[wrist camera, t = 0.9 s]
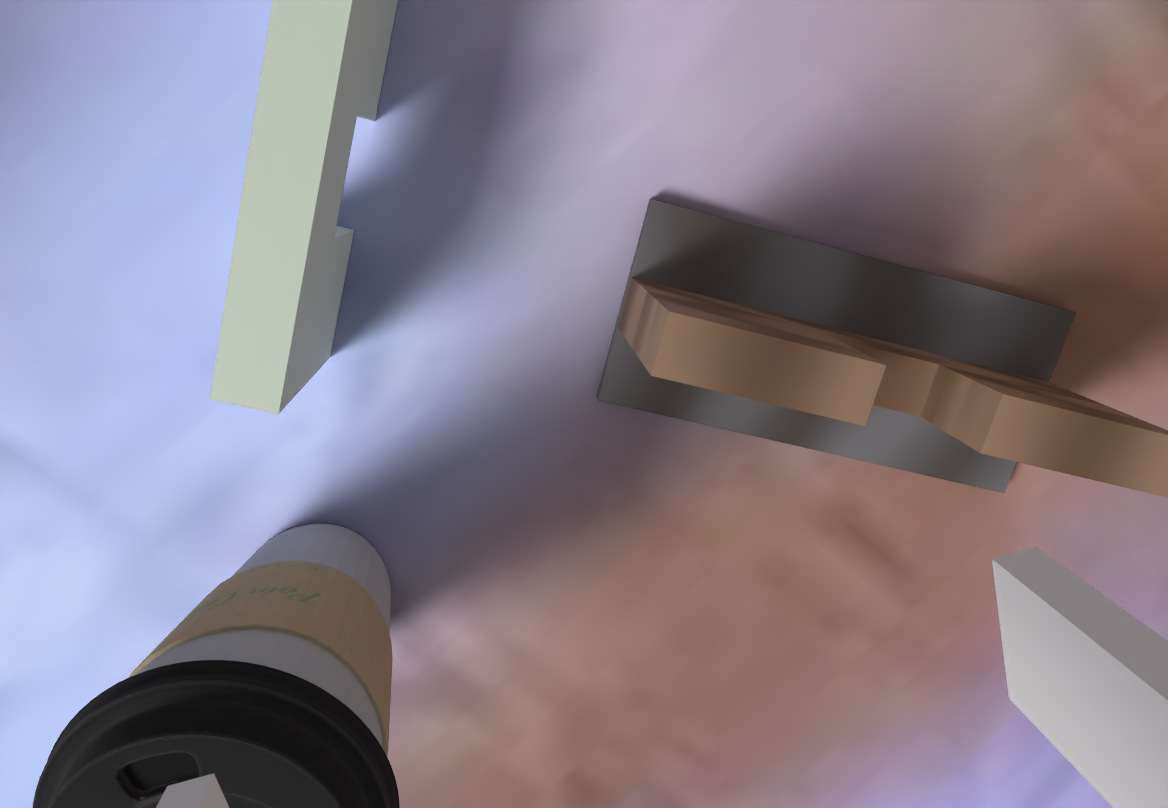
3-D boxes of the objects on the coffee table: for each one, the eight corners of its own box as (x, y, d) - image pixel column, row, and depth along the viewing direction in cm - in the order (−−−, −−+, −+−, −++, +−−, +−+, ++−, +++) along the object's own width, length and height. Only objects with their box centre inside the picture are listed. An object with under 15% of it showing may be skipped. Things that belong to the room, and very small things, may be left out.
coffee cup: (321, 436, 35) (189, 631, 20) (481, 594, 37) (467, 869, 23) (153, 584, 36) (-86, 870, 21) (320, 728, 38) (208, 1073, 24)
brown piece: (596, 396, 35) (624, 467, 27) (649, 198, 33) (697, 210, 25) (996, 488, 38) (1134, 578, 29) (1066, 310, 36) (1235, 353, 28)
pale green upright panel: (330, 356, 34) (278, 414, 26) (277, 345, 33) (209, 399, 26) (402, -25, 30) (367, -88, 23) (345, -42, 30) (290, -112, 22)
